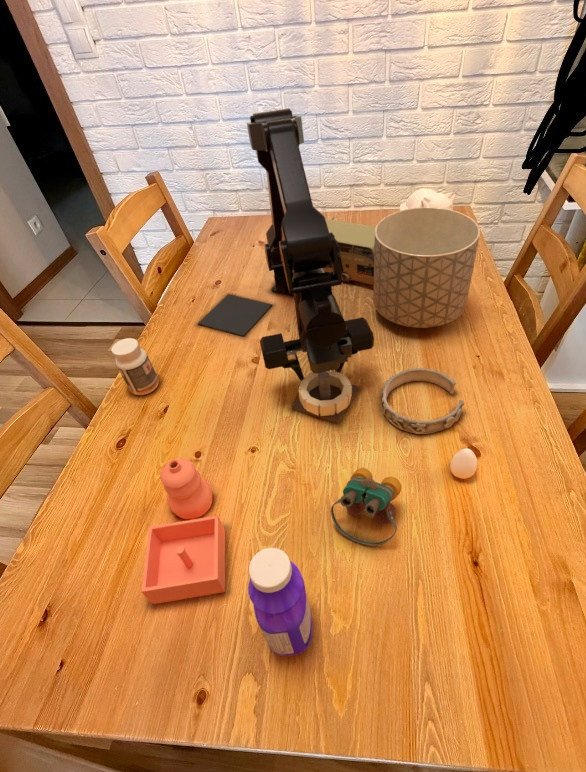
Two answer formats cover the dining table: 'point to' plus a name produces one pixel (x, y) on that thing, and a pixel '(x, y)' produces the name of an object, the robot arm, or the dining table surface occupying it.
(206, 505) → the pottery
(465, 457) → the egg
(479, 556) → the dining table surface
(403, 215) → the planter
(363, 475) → the binoculars
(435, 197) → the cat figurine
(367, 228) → the toy bus
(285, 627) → the bottle
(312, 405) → the beige segmented ring
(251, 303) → the rubber mat
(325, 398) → the stand
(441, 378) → the bracelet
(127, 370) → the pill bottle
